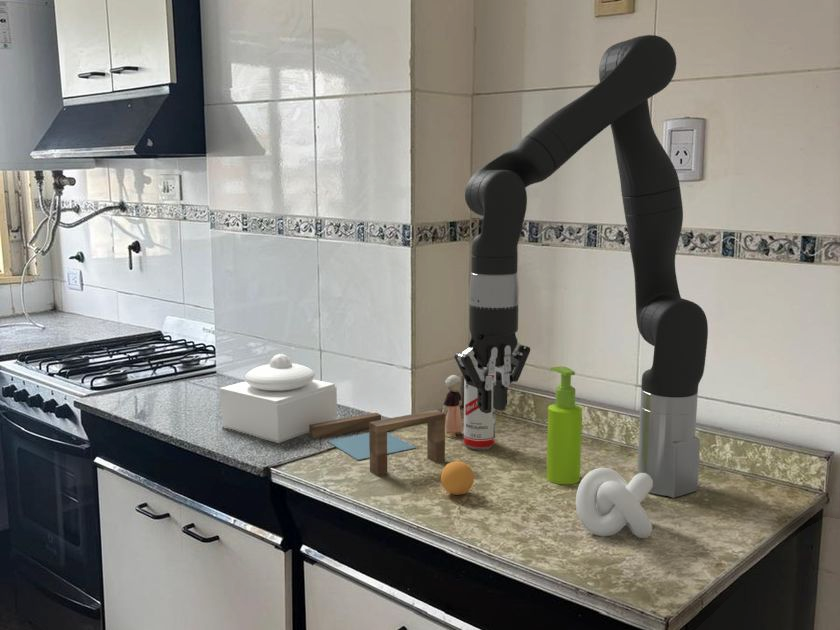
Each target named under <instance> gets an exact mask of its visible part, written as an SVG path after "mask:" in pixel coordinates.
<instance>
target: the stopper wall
mask: <svg viewBox="0 0 840 630" xmlns="http://www.w3.org/2000/svg"><path fill="white" fill-rule="evenodd" d="M378 420H382V415H381V414H380V413H378V412H372V413H367V414H361V415H355V416H349V417H345V418H337V420H332V421H327V422H321V423H316V424H310V425H309V432H308V434H309V437H310V438H312V439H320V438H325V437H331V436H337V435H341V434H346V433H351V432H355V431H356V432H357V431H362V430H367V429H369V422H373V421H378Z"/></svg>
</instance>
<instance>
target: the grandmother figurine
mask: <svg viewBox="0 0 840 630" xmlns="http://www.w3.org/2000/svg"><path fill="white" fill-rule="evenodd" d="M461 382H462V379H461V377H460V376H458V375H455V374H451V375H449V376H448V377H447V378H446V379H445V381H444V384H445V386H446V387H447V389H448V390H449V392H447V394H446V397H445V400H444V402H443V406H442V410H441V412H443V413H445V438H448V437H450V438H449V439H454V438H456V437H457V435H456V434H459V435H461V434H462V432H464V428H463V422H462V421H463V420H462V414H461V408H460V407H461V406H462V405H463V401H462V396H461V393H460V391H459V390H460V388H461Z"/></svg>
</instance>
